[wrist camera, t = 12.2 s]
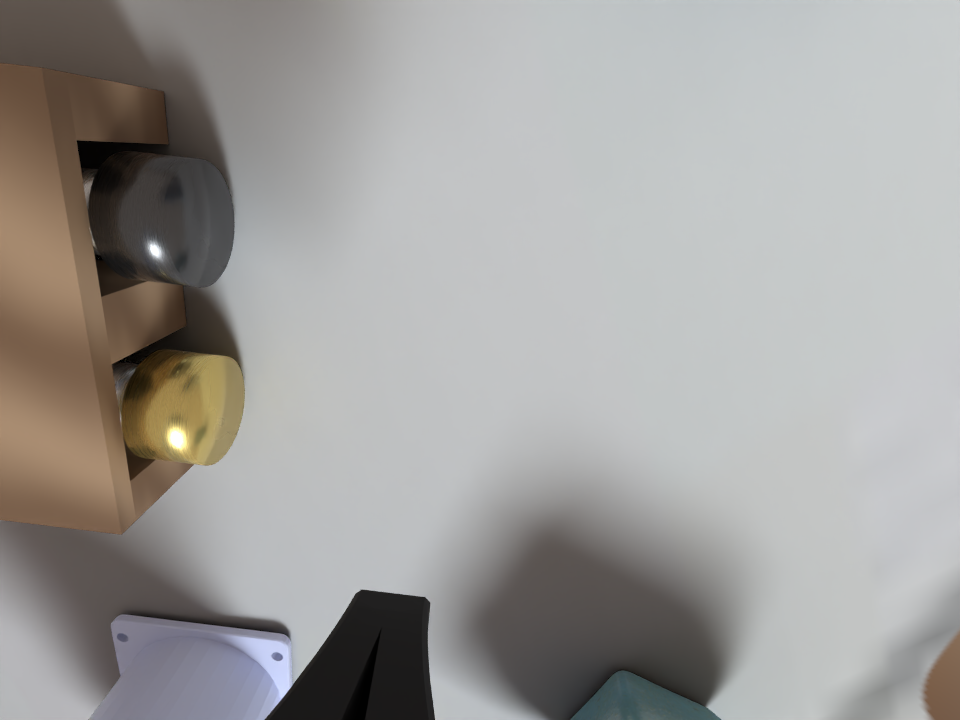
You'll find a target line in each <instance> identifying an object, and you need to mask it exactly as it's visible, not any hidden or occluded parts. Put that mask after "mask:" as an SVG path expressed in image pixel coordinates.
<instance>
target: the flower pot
mask: <svg viewBox="0 0 960 720" xmlns="http://www.w3.org/2000/svg"><path fill="white" fill-rule="evenodd" d="M570 720H721V719H720V718H719V717H717V716H716V715H715V714H714V713H713V712H712V711H710V710H709V709H708V708H706V707H704V706H702V705H700V704H698V703H695V702H693V701H691V700H689V699H687V698H684V697H682V696H680V695H678V694H676V693H673V692H671V691H669V690H667V689H665V688H662V687H660V686H658V685H656V684H654V683H652V682H650V681H648V680H646V679H644V678H642V677H640V676H637V675H635V674H633V673H631V672H628V671H623V670H622V671H618V672H616V673H614V674H613V675H612V676H611V677H610V678H609V679H608V680H607V682H606V683H605V684H604V685H603V686H602V687H601V688H600V689H599V690H598V691H597V692H596V693H595V694H594V696H593V697H592V698H591V699H590V700H589V701H588V702H587V703H586V704H585V705H584V706H583V707H582V708H581V709H580V710H579V711H578V712H577V713H576V714H575V715H574V716H573V717H572V718H571V719H570Z"/></svg>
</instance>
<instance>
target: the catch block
mask: <svg viewBox="0 0 960 720" xmlns="http://www.w3.org/2000/svg"><path fill="white" fill-rule="evenodd" d="M77 140H80V141H103V142H126V143H149V144H169V142H168V132H167V122H166V112H165V102H164V92H163V91H159V90H153V89H148V88H143V87H138V86H133V85H128V84H123V83H118V82H113V81H107V80H102V79H97V78H92V77H87V76H82V75H77V74H72V73H67V72H62V71H56V70H51V69H46V68H41V67H32V66H23V65H14V64H5V63H0V520H5V521H13V522H22V523H30V524H38V525H46V526H55V527H63V528H71V529H79V530H88V531H96V532H104V533H112V534H121V535H122V534H123V533H124V532H125V531H126V530H127V529H128V528H129V527H130V526H131V525H132V524H133V523H134V522H135V521H136V520H137V519H138V518H139V517H140V516H141V515H142V514H143V513H144V512H145V511H146V510H147V509H148V508H150V507H151V506H152V505H153V504H154V503H155V502H156V501H157V500H158V499H159V498H160V497H161V496H162V495H163V494H164V493H165V492H166V491H167V490H168V489H169V488H170V487H171V486H172V485H173V484H174V483H175V482H176V481H177V480H178V479H179V478H180V477H181V476H183V475H184V474H185V473H186V472H187V471H188V470H189V469H190V468H191V467H192V466H193V465H194V464H189V463H181V462H172V461H164V460H156V459H147V458H141V457H138V456H137V455H135V454H134V453H133V452H132V451H131V450H130V449H129V448H128V446H127V444H126V442H125V439H124V436H123V433H122V426H121V420H120V414H119V407H118V401H117V395H116V388H115V382H114V376H113V369H112V364H113V363H115V362H117V361H119V360H121V359H123V358H125V357H127V356H129V355H131V354H133V353H135V352H136V351H138V350H140V349H142V348H144V347H146V346H148V345H150V344H152V343H154V342H156V341H158V340H160V339H162V338H164V337H166V336H167V335H169V334H171V333H173V332H175V331H177V330H179V329H181V328H183V327H185V326H187V323H186V313H185V303H184V293H183V285H176V284H167V283H158V282H150V281H141V280H133V279H127V278H124V277H122V276H120V275H118V274H117V273H115V272H114V271H113V270H112V269H111V268H110V267H109V266H108V265H107V264H106V263H105V261H100V260H95V255H94V248H93V242H92V236H91V229H90V223H89V217H88V210H87V204H86V198H85V191H84V185H83V179H82V172H81V166H80V159H79V153H78V147H77Z"/></svg>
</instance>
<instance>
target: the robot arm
mask: <svg viewBox="0 0 960 720" xmlns="http://www.w3.org/2000/svg"><path fill="white" fill-rule="evenodd" d="M429 612H430V602H429V601H428V600H427V599H426V598H425V597H418V596H410V595H402V594H394V593H386V592H377V591H369V590H361V591H359V592H357V593H356V594H355V596H354V598H353V599H352V601H351V603H350V604H349V606H348V608H347V609H346V611H345V612H344V614H343V616H342V617H341V619H340V620H339V622H338V623H337V625H336V626H335V628H334V629H333V631H332V632H331V634H330V635H329V637H328V638H327V639H326V641H325V642H324V644H323V645H322V646H321V648H320V649H319V651H318V652H317V654H316V655H315V656H314V658H313V659H312V660H311V662H310V663H309V664H308V665H307V667H306V668H305V669H304V671H303V672H302V673H301V675H300V676H299V677H298V679H297V680H296V681H295V683H294V684H293V685H292V658H291V641H290V639H289V638H288V637H287V636H286V635H284V634H280V633H273V632H265V631H256V630H248V629H240V628H232V627H224V626H216V625H207V624H199V623H191V622H183V621H175V620H167V619H158V618H150V617H142V616H134V615H119V616H117V617H116V618H115V620H114V621H113V622H112V623H111V631H112V636H113V641H114V647H115V652H116V657H117V662H118V667H119V672H120V678H119V679H118V681H117V682H116V683H115V685H114V686H113V687H112V689H111V690H110V691H109V693H108V694H107V695H106V697H105V698H104V699H103V701H102V702H101V703H100V705H99V706H98V707H97V709H96V710H95V711H94V713H93V714H92V715H91V717H90V718H89V719H88V720H435V716H434V708H433V700H432V692H431V684H430V674H429V660H428V623H429Z"/></svg>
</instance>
